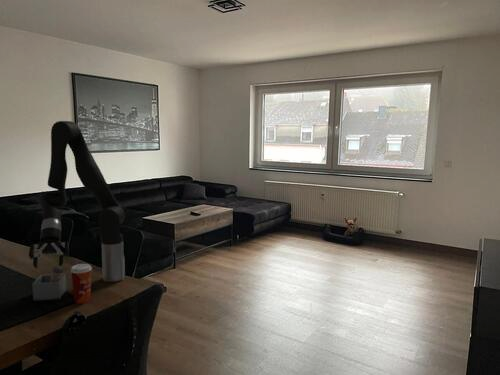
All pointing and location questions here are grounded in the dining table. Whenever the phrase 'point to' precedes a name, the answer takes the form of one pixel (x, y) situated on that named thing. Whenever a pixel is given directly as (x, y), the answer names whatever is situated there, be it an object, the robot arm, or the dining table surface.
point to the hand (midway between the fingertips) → (48, 266)
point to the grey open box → (48, 288)
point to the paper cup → (81, 282)
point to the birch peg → (56, 274)
